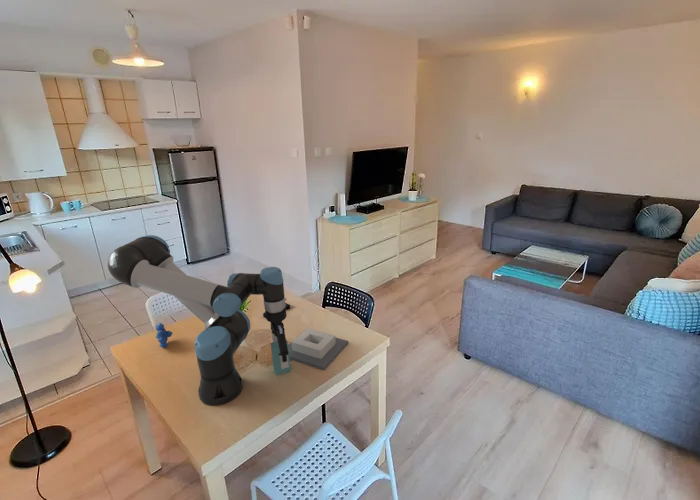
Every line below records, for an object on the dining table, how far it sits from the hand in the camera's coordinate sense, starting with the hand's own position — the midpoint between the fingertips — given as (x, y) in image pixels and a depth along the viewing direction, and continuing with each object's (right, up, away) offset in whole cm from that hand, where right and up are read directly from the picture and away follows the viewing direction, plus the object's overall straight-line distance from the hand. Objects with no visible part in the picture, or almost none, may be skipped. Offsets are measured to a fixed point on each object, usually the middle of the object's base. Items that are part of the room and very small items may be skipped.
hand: (281, 357), depth 142 cm
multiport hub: (-10, +9, +46) cm, 48 cm away
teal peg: (0, -5, +2) cm, 6 cm away
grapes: (-54, -1, +19) cm, 57 cm away
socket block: (+11, -1, +14) cm, 18 cm away
